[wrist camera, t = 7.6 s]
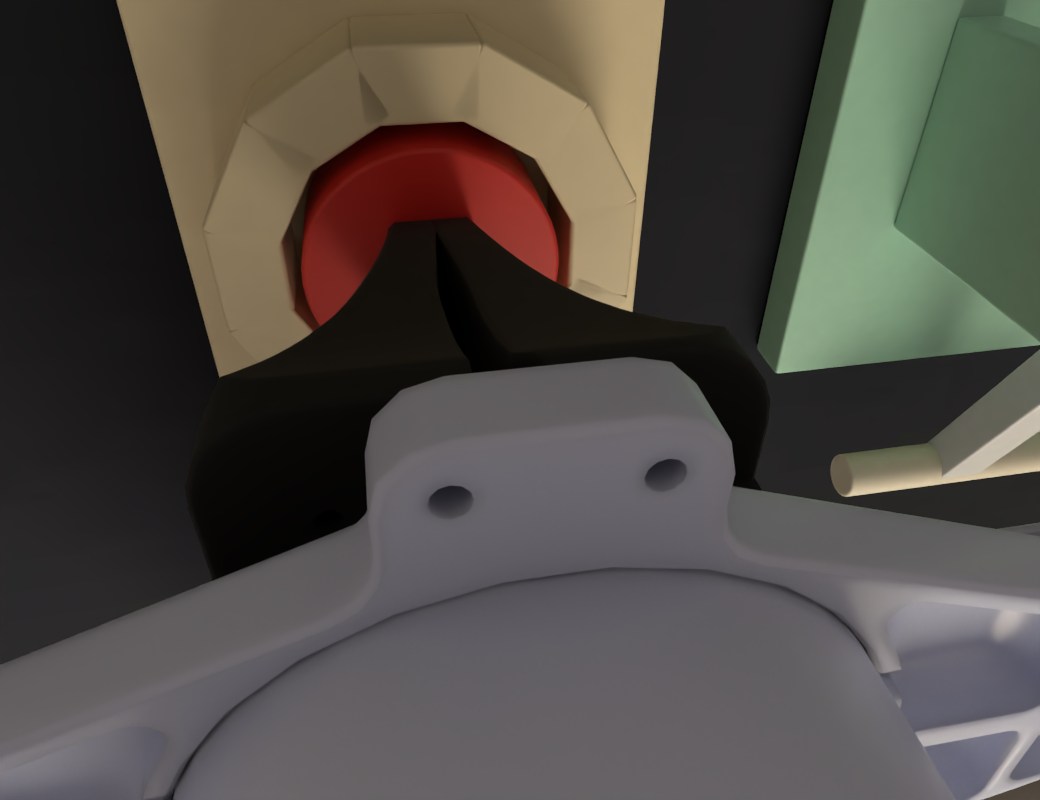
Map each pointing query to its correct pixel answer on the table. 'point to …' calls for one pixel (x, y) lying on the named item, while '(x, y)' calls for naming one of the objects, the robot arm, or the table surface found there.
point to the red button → (415, 203)
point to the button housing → (386, 102)
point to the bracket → (914, 189)
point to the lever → (958, 444)
